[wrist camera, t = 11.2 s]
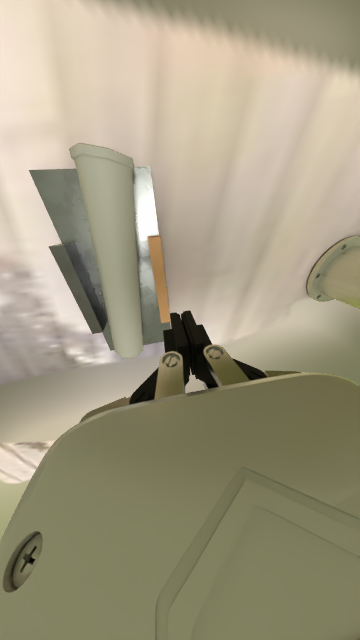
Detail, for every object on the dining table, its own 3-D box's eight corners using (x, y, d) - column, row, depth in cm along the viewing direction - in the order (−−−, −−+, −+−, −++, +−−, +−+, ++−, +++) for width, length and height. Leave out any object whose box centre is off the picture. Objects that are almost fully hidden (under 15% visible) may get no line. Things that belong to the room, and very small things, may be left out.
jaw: (158, 235, 19) (160, 236, 17) (168, 312, 26) (170, 321, 24) (147, 236, 19) (147, 237, 17) (160, 314, 26) (161, 323, 24)
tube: (149, 359, 26) (142, 158, 13) (117, 369, 24) (66, 135, 10) (140, 341, 30) (128, 171, 16) (112, 348, 27) (70, 157, 14)
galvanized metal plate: (150, 170, 17) (150, 156, 13) (170, 335, 31) (173, 350, 27) (38, 174, 16) (4, 159, 12) (112, 345, 30) (107, 362, 26)
